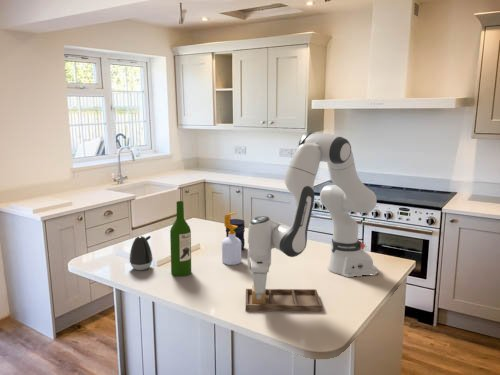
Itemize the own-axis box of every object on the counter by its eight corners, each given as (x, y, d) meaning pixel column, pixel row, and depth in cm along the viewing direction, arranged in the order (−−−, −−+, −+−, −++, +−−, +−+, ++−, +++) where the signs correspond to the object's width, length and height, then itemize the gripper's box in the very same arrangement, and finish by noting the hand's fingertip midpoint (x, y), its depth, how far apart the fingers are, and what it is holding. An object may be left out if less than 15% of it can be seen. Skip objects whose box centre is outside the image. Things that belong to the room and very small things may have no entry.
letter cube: (264, 297, 162) (265, 285, 161) (265, 303, 157) (265, 290, 156) (251, 297, 162) (252, 285, 161) (252, 303, 157) (252, 290, 156)
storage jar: (248, 248, 221) (248, 220, 218) (237, 253, 213) (237, 225, 210) (232, 244, 226) (232, 218, 223) (221, 249, 218) (221, 222, 215)
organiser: (315, 294, 167) (316, 289, 166) (321, 311, 153) (322, 305, 152) (245, 293, 166) (245, 288, 166) (245, 310, 153) (245, 304, 152)
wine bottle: (179, 278, 181) (178, 205, 175) (167, 272, 187) (165, 201, 181) (195, 272, 187) (194, 201, 181) (182, 267, 193) (181, 198, 187)
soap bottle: (234, 266, 195) (234, 215, 190) (218, 262, 199) (218, 212, 195) (244, 261, 202) (245, 211, 198) (229, 257, 207) (229, 209, 202)
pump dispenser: (157, 268, 192) (156, 236, 189) (137, 274, 185) (136, 241, 182) (145, 262, 199) (144, 231, 196) (125, 268, 191) (124, 236, 189)
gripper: (250, 250, 167) (250, 282, 169) (251, 269, 147) (250, 306, 149) (266, 250, 167) (265, 283, 169) (268, 270, 147) (268, 306, 149)
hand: (258, 294), depth 159 cm, fingers open, 5 cm apart
